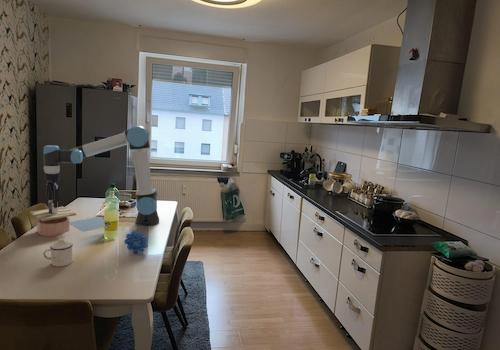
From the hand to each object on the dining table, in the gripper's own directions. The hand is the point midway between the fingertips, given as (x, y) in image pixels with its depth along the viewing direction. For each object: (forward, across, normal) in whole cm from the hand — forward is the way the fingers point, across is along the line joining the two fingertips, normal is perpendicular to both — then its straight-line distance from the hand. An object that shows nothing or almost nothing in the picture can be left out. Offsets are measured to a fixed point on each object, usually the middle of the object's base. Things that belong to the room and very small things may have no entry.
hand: (53, 211), depth 193 cm
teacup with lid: (+12, +45, -15) cm, 49 cm away
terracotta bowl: (+12, 0, 0) cm, 12 cm away
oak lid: (+2, 0, 0) cm, 2 cm away
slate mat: (+12, +2, +22) cm, 25 cm away
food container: (+12, -25, +60) cm, 66 cm away
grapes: (+12, +59, +17) cm, 63 cm away
